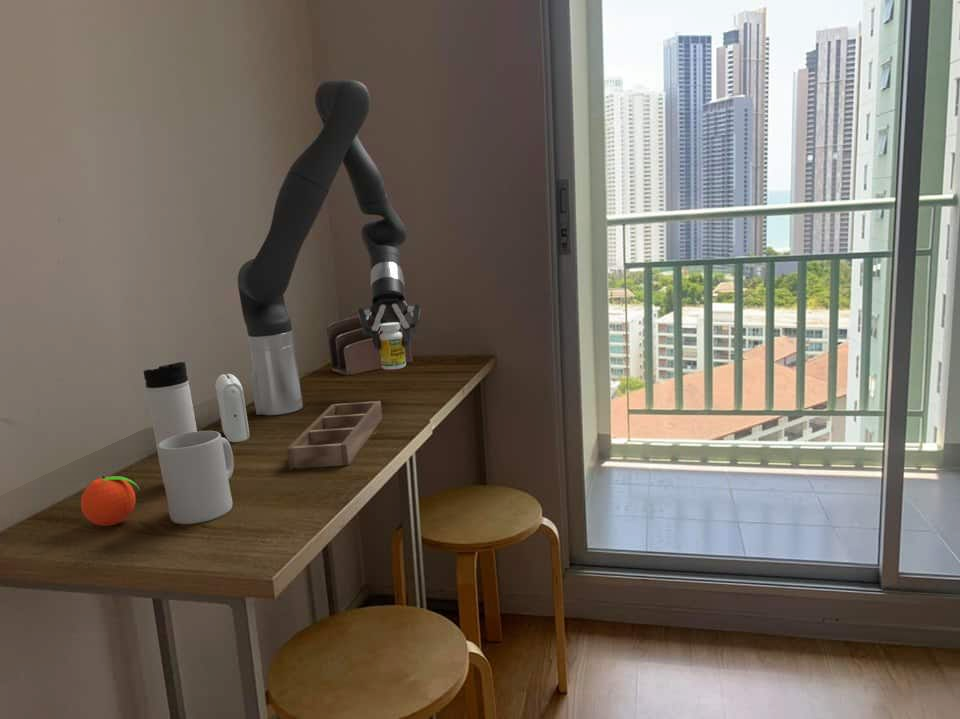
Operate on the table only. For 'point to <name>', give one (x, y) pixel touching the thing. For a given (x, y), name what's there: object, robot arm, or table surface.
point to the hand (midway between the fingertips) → (392, 346)
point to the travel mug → (169, 402)
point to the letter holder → (354, 347)
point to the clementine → (108, 500)
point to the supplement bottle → (392, 346)
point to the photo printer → (232, 408)
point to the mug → (197, 476)
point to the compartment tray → (335, 435)
